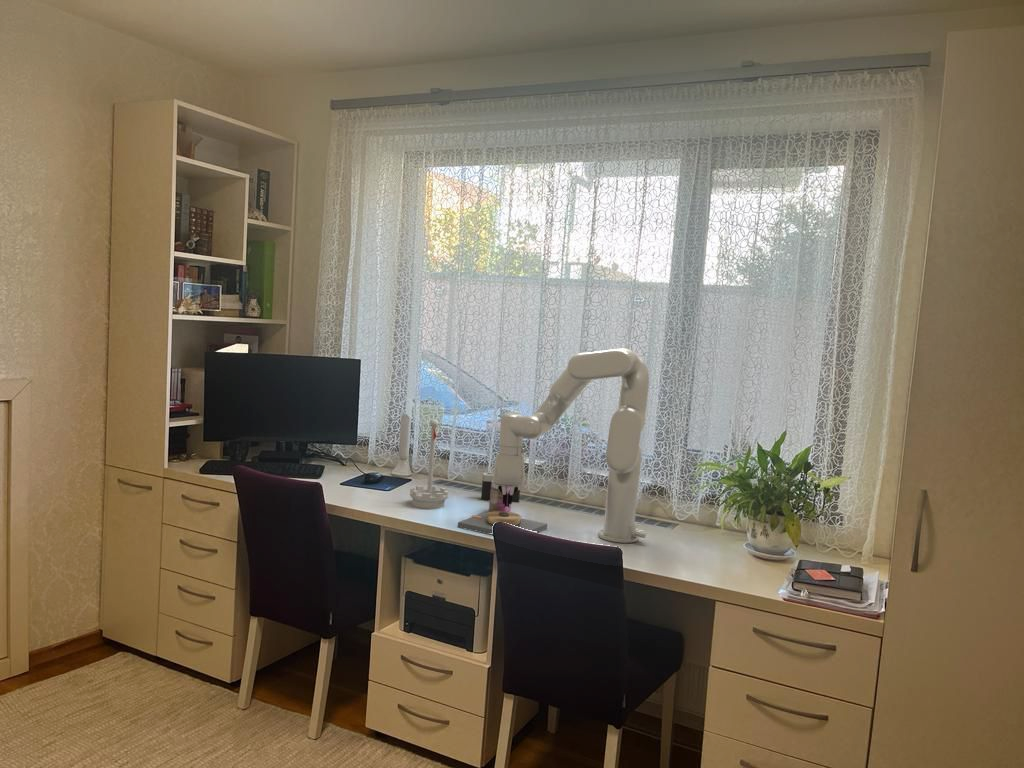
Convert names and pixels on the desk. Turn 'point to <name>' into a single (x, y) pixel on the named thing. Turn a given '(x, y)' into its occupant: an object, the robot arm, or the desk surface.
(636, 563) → the desk surface
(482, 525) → the board
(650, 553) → the desk surface
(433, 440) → the flag stand
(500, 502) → the box
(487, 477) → the camera
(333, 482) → the desk surface
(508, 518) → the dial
